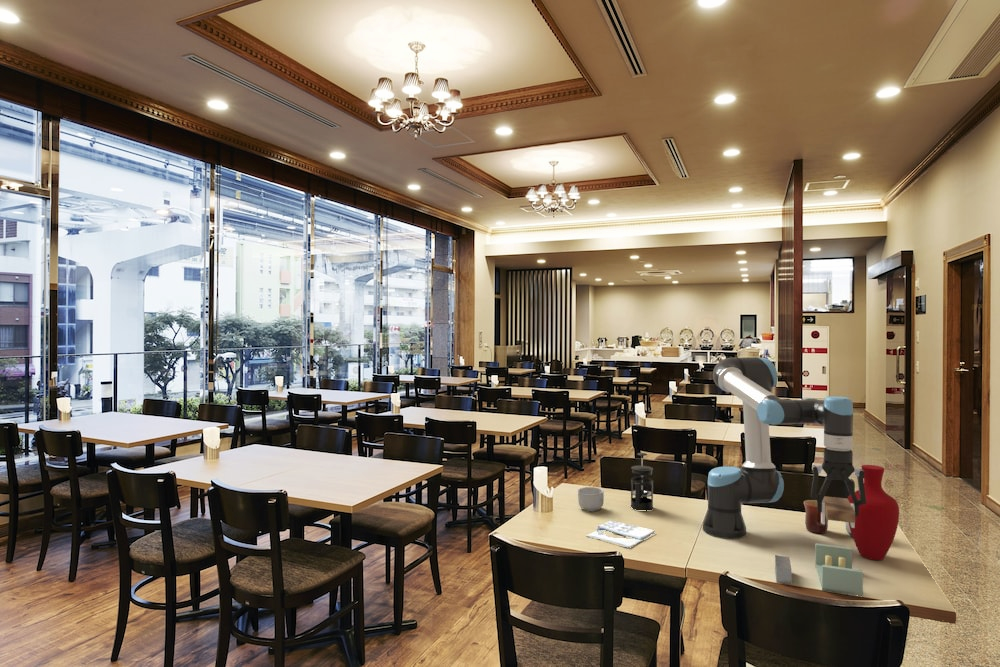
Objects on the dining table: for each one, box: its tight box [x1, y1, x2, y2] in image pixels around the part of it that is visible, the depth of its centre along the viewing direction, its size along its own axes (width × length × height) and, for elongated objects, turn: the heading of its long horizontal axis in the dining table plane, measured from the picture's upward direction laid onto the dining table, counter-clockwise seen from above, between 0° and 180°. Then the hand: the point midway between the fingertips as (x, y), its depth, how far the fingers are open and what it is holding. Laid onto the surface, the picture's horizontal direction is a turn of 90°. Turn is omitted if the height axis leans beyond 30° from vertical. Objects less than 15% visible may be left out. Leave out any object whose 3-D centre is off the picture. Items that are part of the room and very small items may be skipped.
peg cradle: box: [814, 542, 864, 597], centre depth 177 cm, size 10×20×7 cm, turn 157°
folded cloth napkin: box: [585, 520, 655, 549], centre depth 215 cm, size 19×20×2 cm
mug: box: [803, 499, 829, 535], centre depth 218 cm, size 12×9×10 cm
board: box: [823, 495, 855, 523], centre depth 177 cm, size 7×15×3 cm, turn 157°
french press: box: [630, 452, 654, 512], centre depth 246 cm, size 12×9×23 cm
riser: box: [774, 554, 792, 585], centre depth 179 cm, size 4×10×4 cm, turn 157°
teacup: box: [577, 485, 605, 512], centre depth 247 cm, size 14×11×8 cm
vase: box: [847, 464, 900, 561], centre depth 195 cm, size 15×15×30 cm
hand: (837, 524), depth 177 cm, fingers closed on board, 7 cm apart
